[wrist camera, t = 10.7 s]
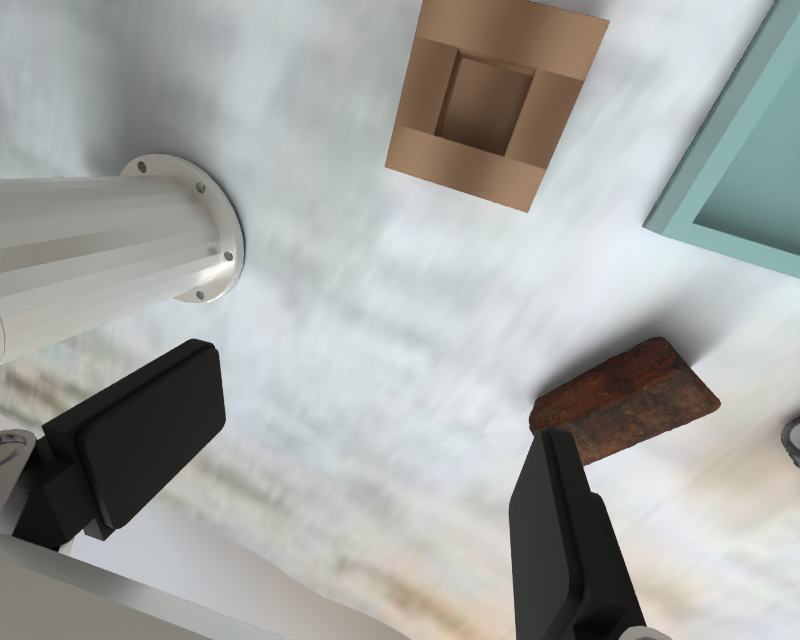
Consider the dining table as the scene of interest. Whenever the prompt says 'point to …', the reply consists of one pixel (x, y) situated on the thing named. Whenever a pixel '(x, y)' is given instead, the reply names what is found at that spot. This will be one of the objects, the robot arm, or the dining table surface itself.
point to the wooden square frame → (490, 94)
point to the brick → (625, 401)
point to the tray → (746, 158)
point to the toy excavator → (792, 440)
